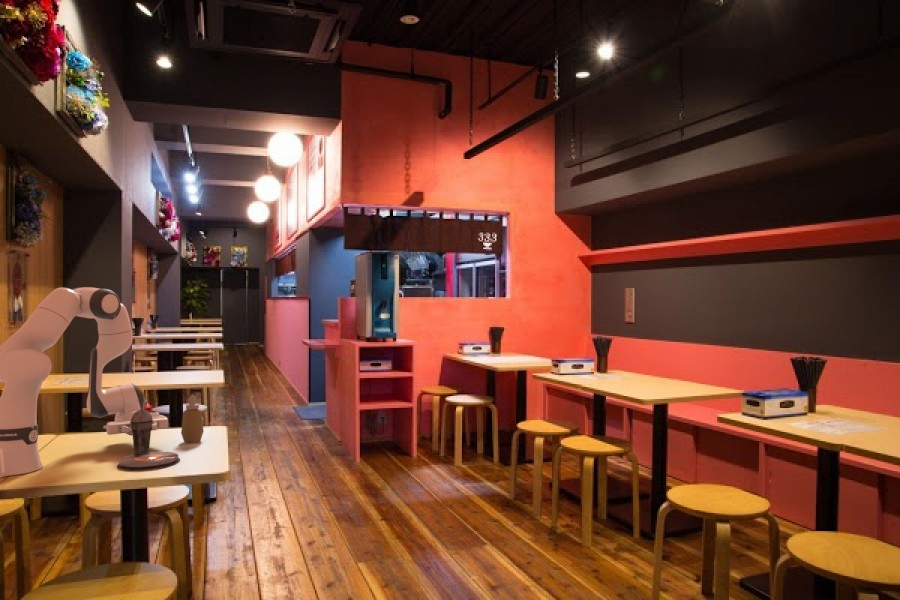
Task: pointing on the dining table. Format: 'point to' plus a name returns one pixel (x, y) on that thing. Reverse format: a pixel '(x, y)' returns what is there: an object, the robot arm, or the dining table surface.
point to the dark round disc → (148, 460)
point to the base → (148, 468)
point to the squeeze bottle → (192, 422)
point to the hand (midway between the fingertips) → (142, 428)
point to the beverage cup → (141, 430)
